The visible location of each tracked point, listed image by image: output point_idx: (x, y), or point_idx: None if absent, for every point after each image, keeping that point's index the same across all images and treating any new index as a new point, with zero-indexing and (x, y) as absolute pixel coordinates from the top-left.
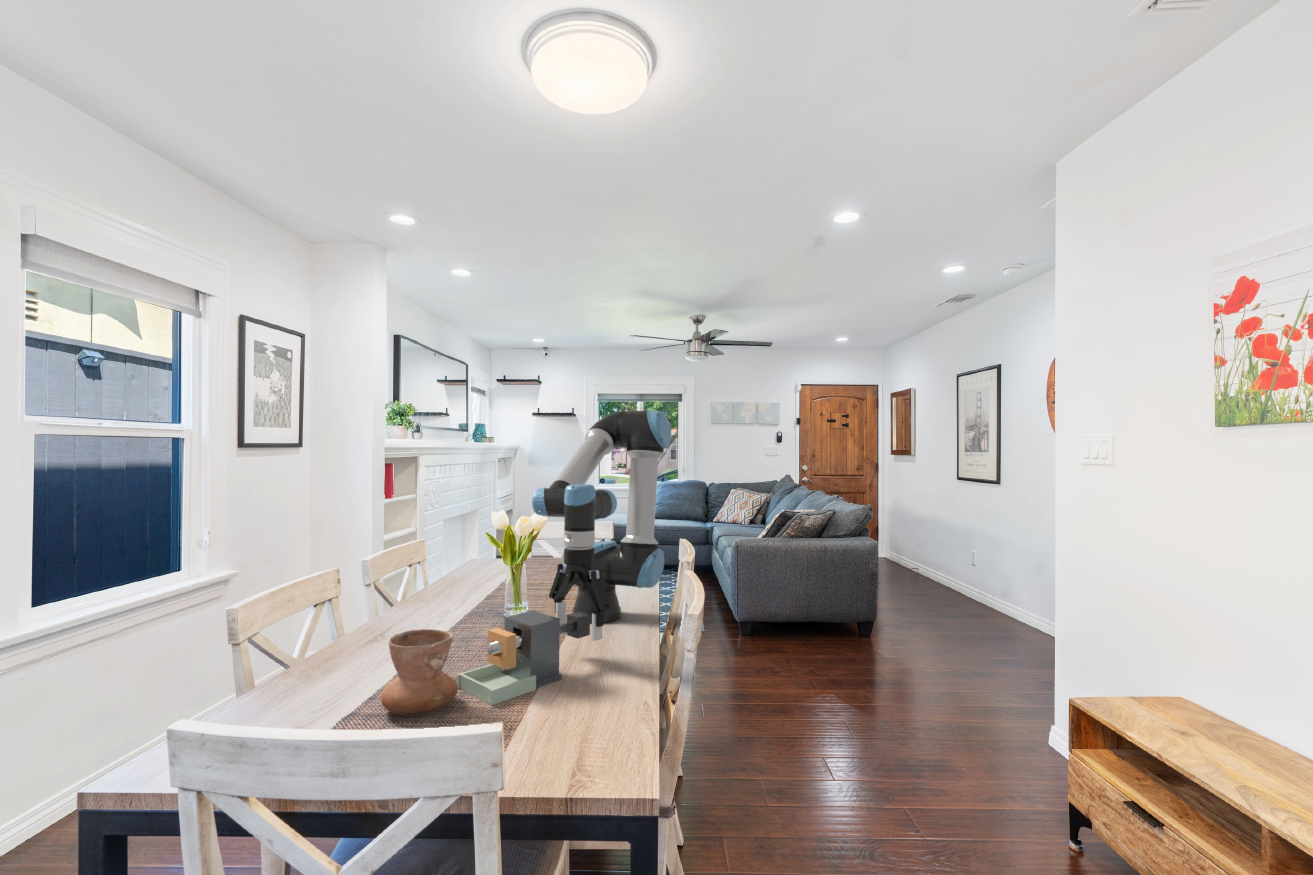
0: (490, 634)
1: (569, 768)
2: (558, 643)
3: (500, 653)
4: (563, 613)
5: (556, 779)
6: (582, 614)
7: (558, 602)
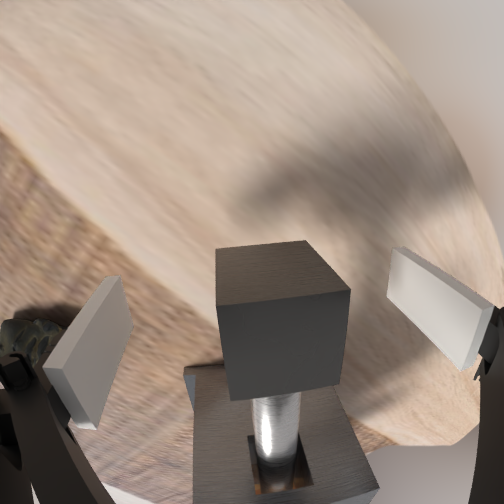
0: None
1: (475, 411)
2: (348, 423)
3: (255, 491)
4: (100, 335)
5: (471, 421)
6: (305, 330)
7: (69, 411)
